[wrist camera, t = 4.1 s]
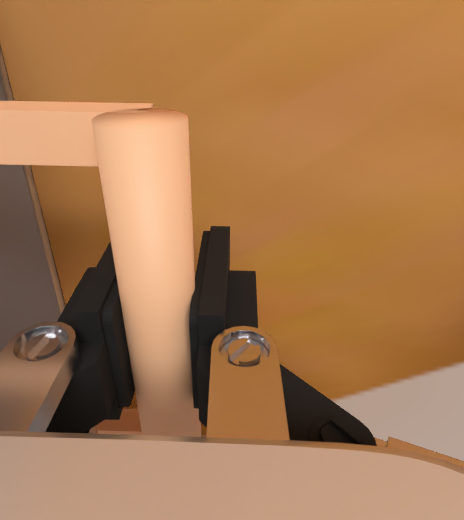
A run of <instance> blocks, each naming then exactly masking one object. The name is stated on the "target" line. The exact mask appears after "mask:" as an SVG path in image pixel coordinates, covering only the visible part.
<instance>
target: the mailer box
mask: <svg viewBox="0 0 464 520" xmlns="http://www.w3.org/2000/svg"><path fill="white" fill-rule="evenodd" d="M0 101H14V99H13V95H12V91H11V87H10V83H9V79H8V75H7V71H6V67H5V63H4V59H3V55H2V51H1V48H0ZM64 308H65V303H64V299H63V295H62V291H61V287H60V283H59V279H58V275H57V271H56V267H55V263H54V259H53V255H52V251H51V247H50V243H49V239H48V235H47V231H46V227H45V223H44V219H43V215H42V211H41V207H40V203H39V199H38V195H37V191H36V187H35V183H34V179H33V175H32V171H31V167H30V165H7V164H0V353H1V352H2V350H3V349H4V348H5V346H6V345H7V343H8V342H9V341H10V340H11V339H12V338H13V337H14V336H15V335H16V334H17V333H19V332H20V331H22V330H23V329H25V328H27V327H29V326H32V325H34V324H38V323H42V322H50V321H56V322H57V320H58V318H59V317H60V315H61V313H62V312H63V310H64Z"/></svg>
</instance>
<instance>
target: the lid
mask: <svg viewBox="0 0 464 520" xmlns="http://www.w3.org/2000/svg"><path fill="white" fill-rule="evenodd" d="M0 164H7V165H56V166H99V171H100V178H101V184H102V190H103V196H104V202H105V208H106V215H107V221H108V227H109V233H110V239H111V246H112V252H113V258H114V264H115V270H116V277H117V283H118V289H119V295H120V301H121V307H122V314H123V320H124V326H125V332H126V338H127V345H128V351H129V357H130V363H131V369H132V376H133V382H134V388H135V394H136V400H137V407H138V409H130V408H123V410H122V413H121V416H120V420H104V421H102V422H101V423H99V424H97V425H98V434H126V435H160V436H189V437H201V422H200V421H199V409H196V408H194V405H193V387H192V369H191V351H190V333H189V312H190V304H191V299H192V295H193V293H194V290H195V272H194V248H193V224H192V201H191V177H190V153H189V130H188V116H187V115H185V114H184V113H182V112H178V111H174V110H169V109H159V108H154V104H151V103H96V102H41V101H0Z"/></svg>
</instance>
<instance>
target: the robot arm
mask: <svg viewBox="0 0 464 520" xmlns="http://www.w3.org/2000/svg"><path fill="white" fill-rule="evenodd" d="M229 266H230V227H224V226H211V229H210V231H203V236H202V242H201V247H200V253H199V259H198V264H197V270H196V276H195V290H194V293H193V295H192V299H191V304H190V312H189V333H190V351H191V369H192V387H193V405H194V408H196V409H199V421H200V422H201V423H202V424H203V425H205V426H206V427H207V436H206V437H189V436H160V435H126V434H98V425H97V424H99V423H101V422H102V421H104V420H120V416H121V413H122V410H123V407H129V406H130V405H131V402H132V398H133V395H134V391H135V388H134V382H133V376H132V369H131V363H130V357H129V351H128V345H127V338H126V332H125V326H124V320H123V314H122V307H121V301H120V295H119V289H118V283H117V277H116V270H115V264H114V258H113V252H112V246H111V241H110V243H109V245H108V247H107V249H106V250H105V252H104V254H103V256H102V258H101V259H100V261H99V263H98V265H97V267H90V268H88V269H87V270H86V272H85V274H84V275H83V277H82V279H81V281H80V282H79V284H78V286H77V287H76V289H75V291H74V293H73V294H72V296H71V298H70V299H69V301H68V303H67V305H66V306H65V308H64V310H63V312H62V313H61V315H60V317H59V318H58V320H57V322H56V321H50V322H42V323H38V324H34V325H32V326H29V327H27V328H25V329H23V330H22V331H20V332H19V333H17V334H16V335H15V336H14V337H13V338H12V339H11V340H10V341H9V342H8V343H7V345H6V346H5V348H4V349H3V350H2V352H1V353H0V520H464V461H461V460H458V459H455V458H452V457H449V456H446V455H443V454H440V453H437V452H434V451H431V450H428V449H425V448H422V447H418V446H415V445H413V444H410V443H407V442H404V441H401V440H398V439H395V438H391V437H389V438H388V440H387V442H386V441H383V440H380V439H377V438H374V437H373V435H372V434H371V432H370V430H369V429H368V428H367V427H366V426H365V425H364V424H363V423H361V422H360V421H359V420H358V419H356V418H355V417H354V416H352V415H351V414H349V413H348V412H346V411H345V410H344V409H342V408H340V406H338V405H337V404H335V403H334V402H333V401H331V400H330V399H328V398H327V397H326V396H324V395H323V394H321V393H320V392H318V391H317V390H316V389H314V388H313V387H311V386H310V385H309V384H307V383H306V382H304V381H303V380H302V379H300V378H299V377H297V376H296V375H295V374H293V373H292V372H290V371H289V370H288V369H286V368H285V367H283V366H282V365H281V364H279V356H278V349H277V345H276V343H275V340H274V339H273V338H272V337H271V336H270V335H269V334H268V333H266V332H264V331H263V330H261V329H258V317H257V294H256V273H255V271H229Z"/></svg>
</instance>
